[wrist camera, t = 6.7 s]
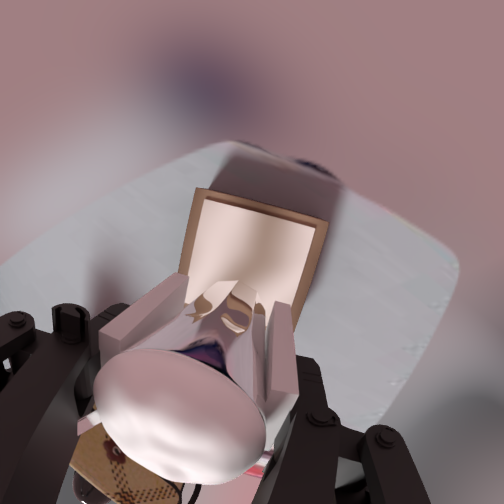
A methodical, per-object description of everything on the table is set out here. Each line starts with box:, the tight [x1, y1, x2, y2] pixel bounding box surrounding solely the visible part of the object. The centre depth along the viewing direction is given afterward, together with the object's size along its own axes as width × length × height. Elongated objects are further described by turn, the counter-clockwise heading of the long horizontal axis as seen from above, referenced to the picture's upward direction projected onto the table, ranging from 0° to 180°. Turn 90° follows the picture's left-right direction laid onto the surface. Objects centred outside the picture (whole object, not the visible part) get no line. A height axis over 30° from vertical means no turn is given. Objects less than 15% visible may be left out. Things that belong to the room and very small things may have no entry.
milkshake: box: [77, 280, 266, 485], centre depth 8 cm, size 4×5×10 cm
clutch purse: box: [69, 403, 202, 504], centre depth 25 cm, size 30×7×15 cm, turn 30°
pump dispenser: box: [73, 471, 111, 504], centre depth 28 cm, size 10×10×15 cm
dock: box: [178, 187, 329, 333], centre depth 24 cm, size 11×10×4 cm
